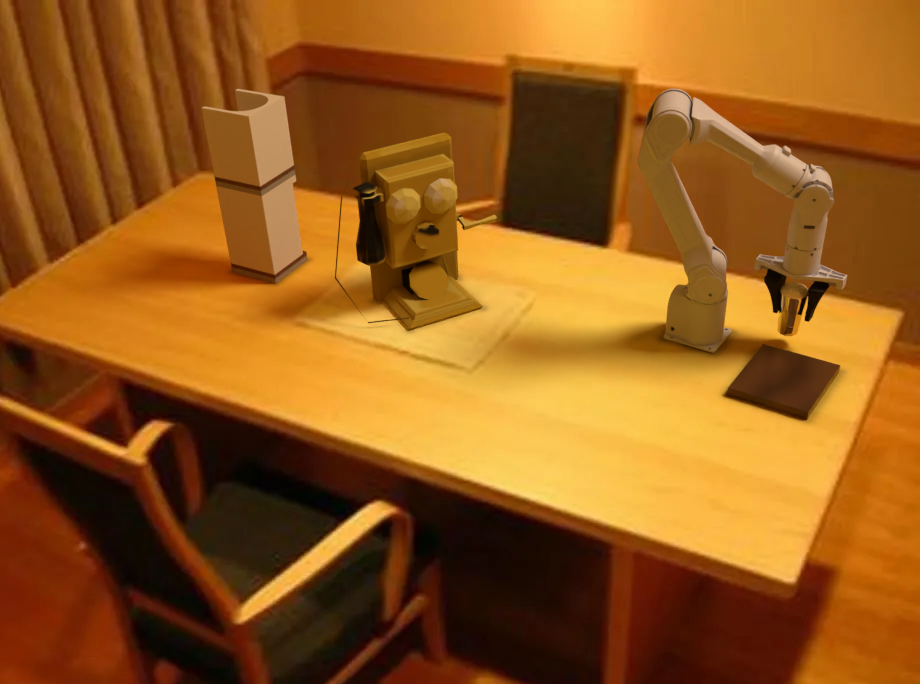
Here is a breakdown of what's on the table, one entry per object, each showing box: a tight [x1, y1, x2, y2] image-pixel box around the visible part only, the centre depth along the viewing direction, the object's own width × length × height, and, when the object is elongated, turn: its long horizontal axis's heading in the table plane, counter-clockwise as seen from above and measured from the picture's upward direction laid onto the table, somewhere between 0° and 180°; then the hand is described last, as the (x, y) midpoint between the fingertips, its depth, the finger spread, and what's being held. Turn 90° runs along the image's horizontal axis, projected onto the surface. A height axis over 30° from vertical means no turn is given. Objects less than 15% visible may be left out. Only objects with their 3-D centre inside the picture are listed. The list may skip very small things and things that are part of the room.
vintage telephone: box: [334, 132, 498, 330], centre depth 196 cm, size 31×14×30 cm, turn 114°
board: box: [727, 343, 841, 420], centre depth 175 cm, size 13×15×2 cm
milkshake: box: [777, 281, 809, 337], centre depth 181 cm, size 4×5×10 cm
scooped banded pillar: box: [201, 88, 308, 285], centre depth 212 cm, size 11×11×35 cm
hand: (792, 314), depth 182 cm, fingers closed on milkshake, 5 cm apart
